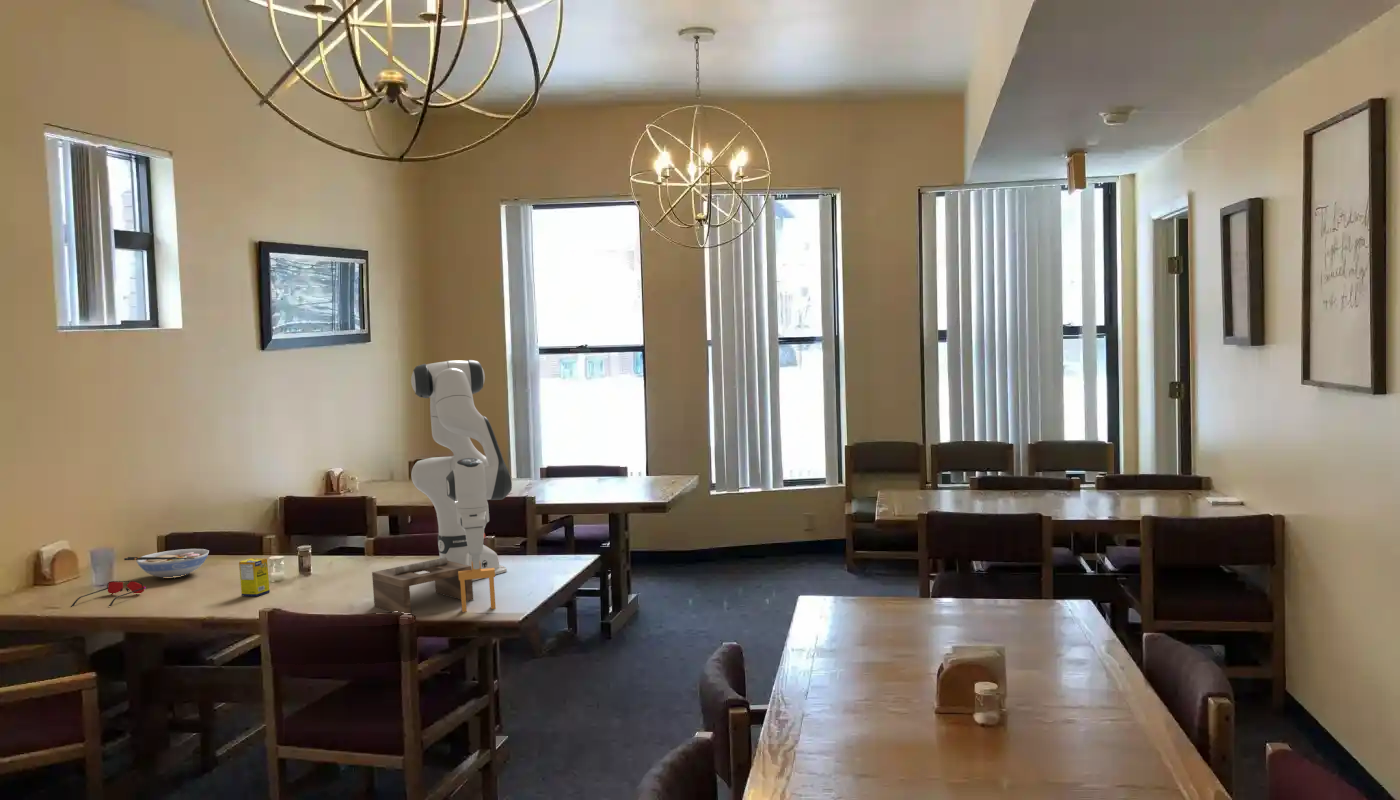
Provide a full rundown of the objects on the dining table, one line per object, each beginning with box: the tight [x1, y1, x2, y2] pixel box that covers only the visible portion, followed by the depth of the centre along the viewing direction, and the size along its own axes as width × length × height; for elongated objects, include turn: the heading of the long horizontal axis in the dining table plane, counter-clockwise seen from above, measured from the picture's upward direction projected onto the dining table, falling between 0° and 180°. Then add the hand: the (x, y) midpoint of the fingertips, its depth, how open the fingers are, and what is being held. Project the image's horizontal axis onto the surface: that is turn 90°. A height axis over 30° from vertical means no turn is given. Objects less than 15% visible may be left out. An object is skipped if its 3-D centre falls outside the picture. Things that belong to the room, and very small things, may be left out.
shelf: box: [371, 557, 474, 614], centre depth 320 cm, size 22×18×12 cm
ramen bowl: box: [123, 548, 210, 578], centre depth 376 cm, size 25×23×8 cm
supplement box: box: [238, 557, 271, 597], centre depth 342 cm, size 6×6×11 cm
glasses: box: [70, 580, 146, 608], centre depth 344 cm, size 14×16×5 cm
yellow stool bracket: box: [458, 561, 497, 613], centre depth 310 cm, size 3×10×13 cm, turn 103°
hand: (475, 565), depth 309 cm, fingers open, 8 cm apart
